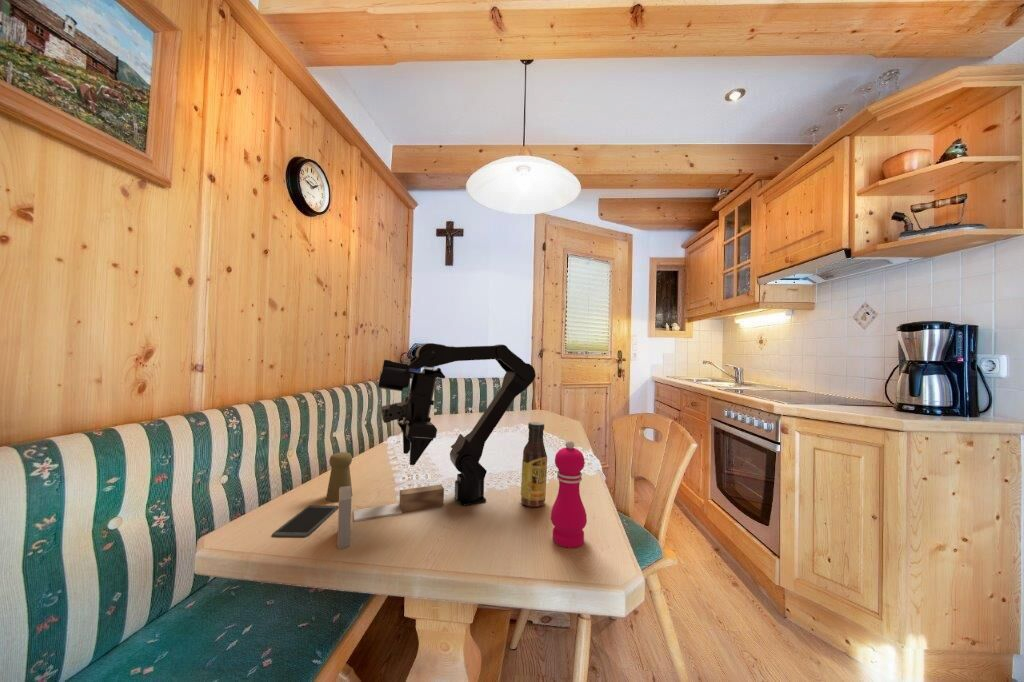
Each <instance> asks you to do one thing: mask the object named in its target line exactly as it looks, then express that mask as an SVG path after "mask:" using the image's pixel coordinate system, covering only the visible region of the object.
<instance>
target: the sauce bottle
mask: <svg viewBox="0 0 1024 682" xmlns="http://www.w3.org/2000/svg"><path fill="white" fill-rule="evenodd" d="M527 426H528V427H527V428H528V438H527V443H526V445H524V448H523V451H522V453H523V454H522V461H521V462H522V463H521V481H520V482H521V485H520V496H521V498H520V501H521V504H523V505H524V506H526V507H530V508H531V507H532V508H537V507H542V506H543V505H544V504H545V502H546V496H547V494H546V493H547V475H548V474H547V472H548V471H547V469H548V455H547V451H546V448H545V442H544V430H545V424H544V422H539V421H531V422H528V425H527Z"/></svg>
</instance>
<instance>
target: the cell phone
mask: <svg viewBox="0 0 1024 682" xmlns="http://www.w3.org/2000/svg"><path fill="white" fill-rule="evenodd" d="M338 510H339V505H326V504H323V505H322V504H320V505H318V504H311V505H307V506H306V507H304V508H303V509H302V510H301V511H300V512H298V513H297V514H296V515H294V516H293V517H291V518H290V519H289V520H288V521H287V522H285V523H284V524H282V525H281V526H280V527H279V528H277V529H276V530H274V532H273V533H272V534H271V537H272V538H297V539H299V538H301V539H302V538H303V539H305V538H308V537H310V536H311V535H312V533H314V532H315V531H316V530H317V529H318V528H319V527H321V525H322V524H324V523H325V522H326V521H327V520H328V519H329V518H331V516H332V515H334V513H335V512H336V511H338Z"/></svg>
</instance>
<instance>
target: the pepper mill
mask: <svg viewBox="0 0 1024 682" xmlns="http://www.w3.org/2000/svg"><path fill="white" fill-rule="evenodd" d="M585 463H586V462H585V456H584V454H583V452H582V451H580V450H579V449H578V448H576V447H575V443H574V441H573V440H571V439H569V440H568V439H567V441H566V442H565V447H562V448H561V449H559V450H558V451H557V452H556V454H555V458H554V464H555V467H556V468H557V469H558V470H557V471H556V474H557V475H556V479H557V480H558V485H559V486H558V492H557V495H556V499H555V500H554V503H553V504H552V509H551V511H550V521H551V523H552V525H553V526H554V527H553V528H552V540H553V542H554V543H555V544H556V543H557V544H556V545H558V546H560V547H562V546H563V548H566V547H568V549H569V548H570V549H574V548H575V547H576V548H579V547H581V546H582V545H583V544H584V542H585V531H584V529H585V527H586V525H587V521H588V520H587V519H588V518H587V513H586V512H587V511H586V508H585V506H584V503H583V501H582V498H581V494H580V493H581V492H580V485H581V484H580V483H581V482H582V480H583V479H582V476H583V473H582V472H581V471H582V470H584V467H585V465H586V464H585ZM576 548H575V549H576Z"/></svg>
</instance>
